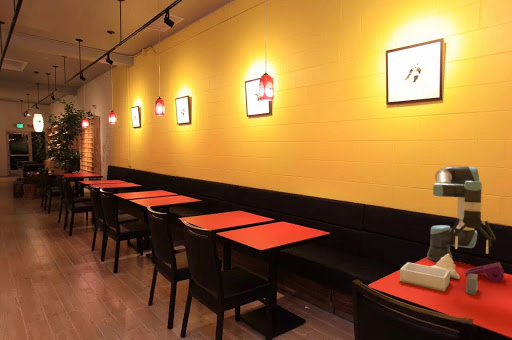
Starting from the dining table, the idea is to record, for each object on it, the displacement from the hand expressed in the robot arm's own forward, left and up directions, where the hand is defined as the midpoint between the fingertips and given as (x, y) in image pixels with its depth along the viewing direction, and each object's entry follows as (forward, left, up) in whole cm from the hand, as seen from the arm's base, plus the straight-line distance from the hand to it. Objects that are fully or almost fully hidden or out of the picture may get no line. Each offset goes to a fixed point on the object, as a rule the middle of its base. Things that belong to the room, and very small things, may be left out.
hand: (471, 250), depth 171 cm
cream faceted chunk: (-16, -14, -21) cm, 30 cm away
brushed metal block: (+1, +1, -21) cm, 21 cm away
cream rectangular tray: (+3, -21, -21) cm, 30 cm away
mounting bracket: (-28, +4, -21) cm, 35 cm away
